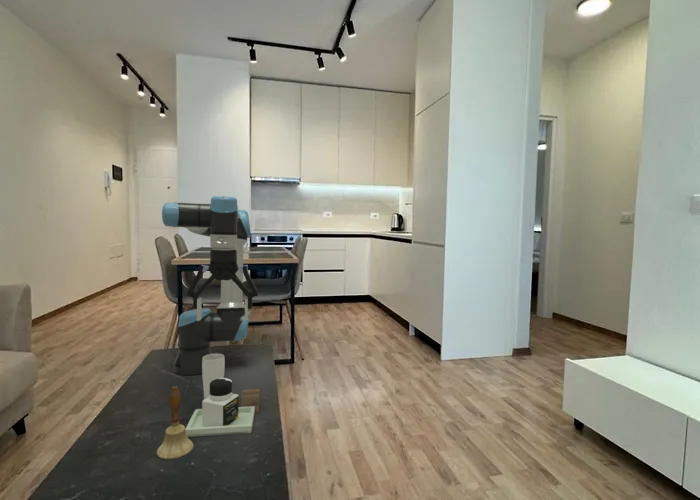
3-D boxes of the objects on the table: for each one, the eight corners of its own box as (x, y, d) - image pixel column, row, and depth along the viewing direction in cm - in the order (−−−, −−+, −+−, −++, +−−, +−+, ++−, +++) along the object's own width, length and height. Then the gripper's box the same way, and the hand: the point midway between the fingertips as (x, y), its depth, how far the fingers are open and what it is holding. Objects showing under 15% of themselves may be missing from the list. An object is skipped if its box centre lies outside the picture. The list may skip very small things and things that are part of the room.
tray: (195, 415, 112) (195, 409, 112) (254, 412, 115) (254, 406, 115) (184, 437, 100) (184, 429, 100) (251, 433, 103) (251, 425, 103)
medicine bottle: (223, 430, 103) (223, 387, 102) (201, 425, 105) (201, 383, 105) (238, 418, 110) (239, 377, 109) (218, 414, 112) (218, 374, 111)
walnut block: (243, 405, 119) (243, 390, 119) (259, 404, 120) (259, 389, 120) (241, 413, 115) (241, 396, 114) (258, 412, 115) (258, 396, 115)
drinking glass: (216, 409, 116) (217, 361, 116) (197, 406, 118) (197, 359, 117) (228, 400, 123) (228, 354, 122) (209, 397, 124) (209, 352, 124)
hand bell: (177, 462, 89) (177, 395, 89) (148, 455, 92) (149, 390, 91) (200, 443, 97) (201, 382, 97) (173, 438, 100) (173, 378, 99)
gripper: (175, 249, 106) (175, 323, 108) (266, 250, 111) (265, 322, 112) (182, 247, 114) (182, 316, 115) (267, 248, 118) (266, 315, 120)
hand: (223, 319), depth 114 cm, fingers open, 13 cm apart
